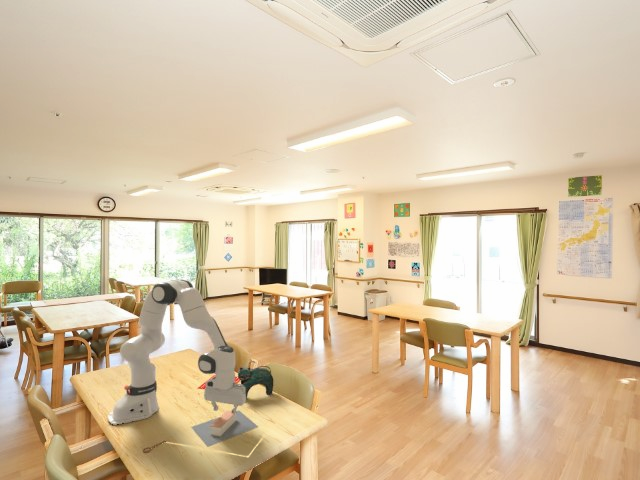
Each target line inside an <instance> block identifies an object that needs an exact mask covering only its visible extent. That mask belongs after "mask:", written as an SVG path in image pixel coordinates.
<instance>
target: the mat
mask: <svg viewBox="0 0 640 480" xmlns="http://www.w3.org/2000/svg"><path fill="white" fill-rule="evenodd" d="M236 412H237V420H236V421H235V422H234V423H233V424H232V425H231V426H230V427H229V428H228V429H227V430H226V431H225V432H224V433H223V434H222V435H221V436H217V435H211V425H212V424H213V423H214V422H215V421H216V420H217V419H218V418H219V417H216V418H212V419H211V420H208V421H205V422H201V423H199V424H195V425H193V426H192V425H191V426H190V428H191V429H192V430H193V432H194V433H195V434H196V435H197V436H198V437H199V439H200V440H201V441H202V442H203V443H204V444H205V446H206V447H207V448H208V447H211V446H215V445H216V444H218V443H221V442H224V441H227V440H229V439H232V438H235V437H236V436H238V435H242V434H244V433H247V432H249V431H252V430H254V429H255V430H256V428H259V425H257V423H255V422H253V421H252V420H251V419H250V418H249V417H248V416H246V415H245V414H244V413H243V412H242V411H241V410H236Z"/></svg>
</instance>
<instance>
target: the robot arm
mask: <svg viewBox="0 0 640 480" xmlns="http://www.w3.org/2000/svg"><path fill="white" fill-rule="evenodd" d="M172 304H178V306H179V307H180V310H181V314H182V317H183V321H184V322H185V324H186V326H188V327H190V328H192V329H197V330H201V331H204V332H206V334H207V335H208V337H209V339H210V341H211V343H212V345H213V349H211V350H208V351H206V352H205V353H202V354H200V355H199V357H198V360H197V367H198V369H199V371H200V372H201V373H202V374H204V375H205V374H206V375H213V374H214V375H216V376H214V377H212V376H211V377H212V378H211V377H210V378H211V379H210V378H208V379H209V380H208V379H207V380H208V381H207V380H206V381H207V382H206V381H205V382H206V387H205V389H204V392H203V393H204V395H203V396H204V397H203V398H204V400H205V401H208V402H211V406H212V407H213V411H215V412H218V411H219V405H217V403H219V404H227V405H233V409H231V411H232V414H235V413H236V411H237V409H238V408H239V407H242V406H243V405H244V404H245V403H246V402H247V399H246V393H245V392H246V388H245V386H244V385H243V384H241V383H235V377H236V373H235V372H236V371H235V367H236V353H235V349H234V348H233V347H232V346H230V345H228V344H227V342H226V339H225V337H224V335H223V333H222V331H221V330H220V326H219V325H218V323H217V321H216V319H214V317H213V316H212V315H211V314H210V312H209V311H208V309H207V307H206V304H205V301H204V299H203V296H202V295H201V292H200V291H199V289H197V288H195V287H194V286H193V284H192V282H190V281H189V280H184V279H181V280H178V279H175V280H170V281H162V282H159V283H157V284H155V285H154V286H153V287H152V289H150V290H149V291H148V293H147V294H146V297H145V298H144V302H143V304H142V307H141V310H140V315H139V318H138V325H139V326H140V327H141V331H140V334H139V335H137V336H134V337H131V338H129V339H128V340H126V341H125V342H124V343H122V345H121V346H120V348H119V354H120V357H121V358H122V359H123V361H125V362H127V364H128V366H129V369H130V380H131V381H130V382H131V384H130V385H128V384H125V385H124V387H123V388H124V389H125V391H126V393H125V394H124V395H123V396H122V397H121V398H120V399H118V400H117V401H116V402H115V404H114V406H113V411H111V412H110V413H109V414H108V415H107V421H109V422H110V423H111V424H110V423H109V422H108V423H109V424H110V425H112V424H113V426H118V425H117V424H119V425H123V424H122V423H124V424H126V423H127V424H128V423H132V421H133V422H137V421H142V420H145V419H150V418H151V417H152V415H153V414H155V413H156V412H157V411H159V409H160V405H159V402H158V398H157V390H158V389H157V387H158V386H157V384H158V383H157V379H156V377H157V376H156V375H157V374H156V365H155V364H154V363H152V362H151V358H150V355H151V354H153V353H156V352H157V351H158V350H159V349H160V348H162V347H163V345H164V344H165V341H166V338H165V334H164V333H163V331H162V326H163V321H164V317H165V315H166V311H167V308H168V305H172Z"/></svg>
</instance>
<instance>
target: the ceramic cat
mask: <svg viewBox="0 0 640 480" xmlns="http://www.w3.org/2000/svg"><path fill="white" fill-rule="evenodd" d="M251 363H254V364H256V361H252V360H251V361H250V362H249V363H248V365H250V364H251ZM271 372H272V370H271V368H270V367H269V366H268V365H261V366H257V367H255V368H251V367H250V366H248V367H247V366H246V367H245V366H241V367H239V369H238V371H237V377H238V378H239V379H240V384H243V385H244V386H245V388H246V392H245V393H246V400H247V399H248V394H249V391H250V390H251V388H252V387H255V386H256V385H257V386H258V385H263V386H264V387H265V394H266V396H270V395H273V392H274V391H273V390H274V377H273V375H272V373H271ZM239 379H238V380H239Z"/></svg>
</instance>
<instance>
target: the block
mask: <svg viewBox="0 0 640 480" xmlns="http://www.w3.org/2000/svg"><path fill="white" fill-rule="evenodd" d="M217 418H218V419H217V420H216V421H215V422H214V423H213V424H212V425H211V435H217V436H221V435H222V434H223V433H224V432H225V431H226V430H227V429H228V428H229V427H230V426H231V425H232V424H233V423H234V422H235V421H236V420H237V412H236V413H235V414H232V410H228V409H227V410H226V411H225V412H223V414H222V415H220V416H218V417H217Z"/></svg>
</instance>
